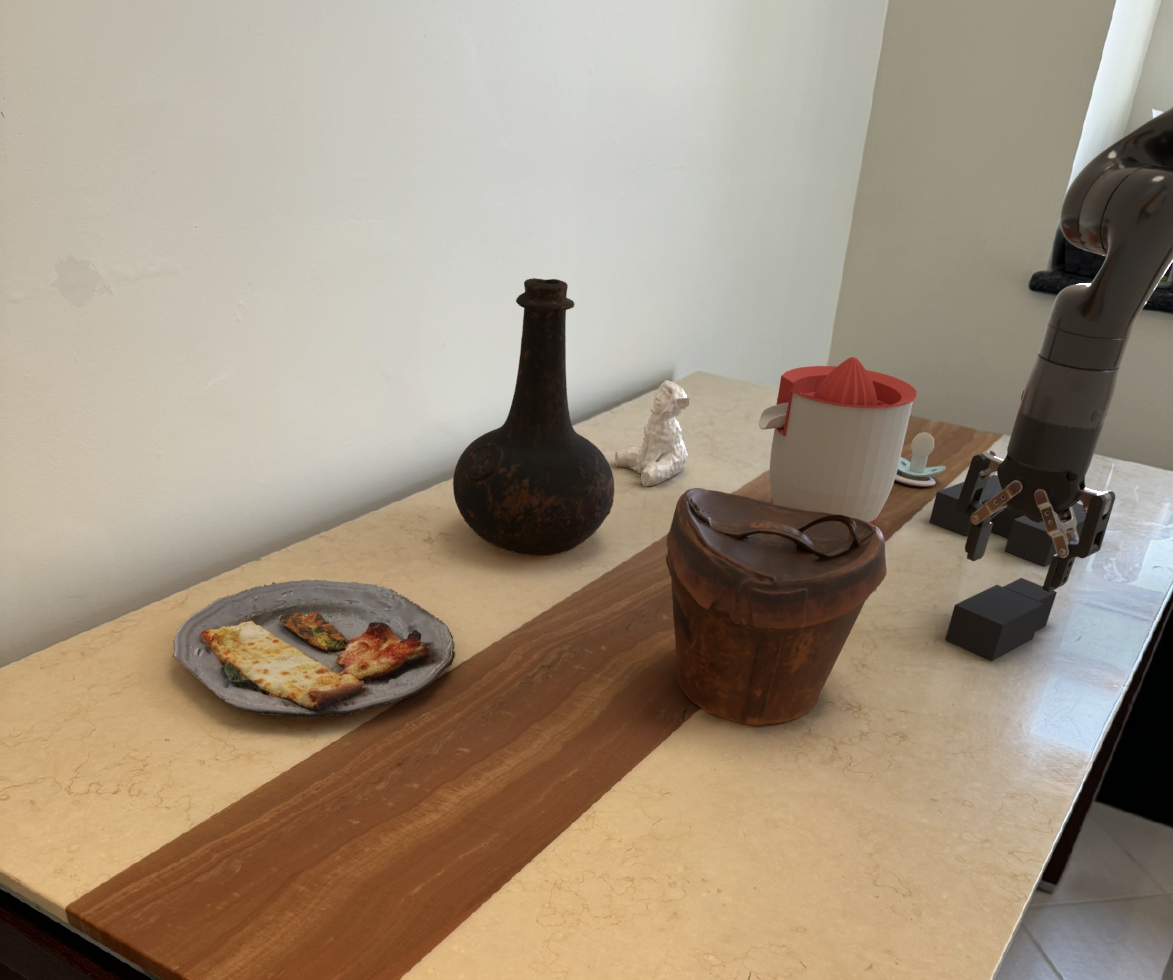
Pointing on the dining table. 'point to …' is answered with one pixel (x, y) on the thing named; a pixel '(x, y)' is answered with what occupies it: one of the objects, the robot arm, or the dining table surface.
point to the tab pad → (1000, 618)
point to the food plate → (314, 648)
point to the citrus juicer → (837, 438)
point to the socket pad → (1001, 523)
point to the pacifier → (918, 463)
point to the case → (764, 601)
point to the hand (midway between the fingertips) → (1011, 573)
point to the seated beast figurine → (659, 439)
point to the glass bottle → (536, 449)
